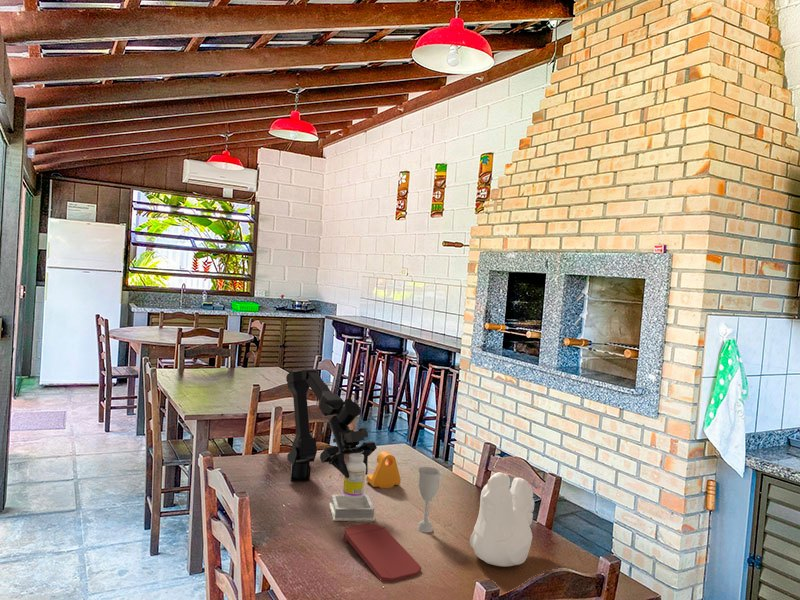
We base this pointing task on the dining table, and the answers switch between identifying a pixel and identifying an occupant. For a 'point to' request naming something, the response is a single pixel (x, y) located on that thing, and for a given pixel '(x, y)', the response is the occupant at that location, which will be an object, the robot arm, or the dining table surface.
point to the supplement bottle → (355, 476)
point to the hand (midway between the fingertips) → (357, 476)
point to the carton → (381, 552)
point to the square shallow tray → (351, 508)
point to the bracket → (385, 472)
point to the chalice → (428, 493)
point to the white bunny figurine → (504, 521)
